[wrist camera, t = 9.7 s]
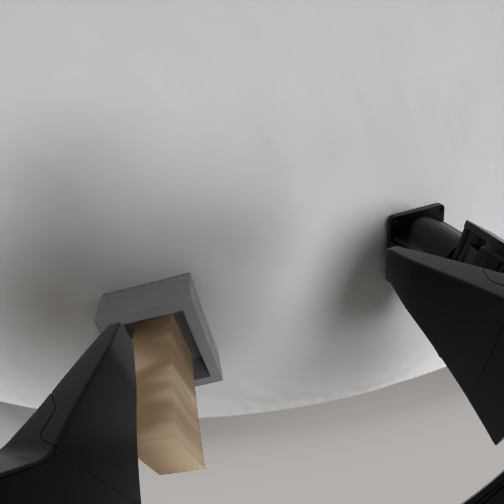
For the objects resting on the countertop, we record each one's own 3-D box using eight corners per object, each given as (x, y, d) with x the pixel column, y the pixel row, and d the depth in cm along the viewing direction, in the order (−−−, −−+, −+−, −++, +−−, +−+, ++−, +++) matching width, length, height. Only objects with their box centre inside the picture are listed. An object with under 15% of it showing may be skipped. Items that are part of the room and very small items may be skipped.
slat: (171, 307, 22) (174, 437, 13) (191, 348, 24) (205, 468, 15) (135, 317, 22) (122, 444, 12) (158, 357, 24) (159, 474, 14)
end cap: (189, 272, 22) (190, 297, 19) (218, 353, 26) (223, 380, 23) (102, 295, 21) (94, 321, 19) (144, 369, 25) (142, 396, 23)
